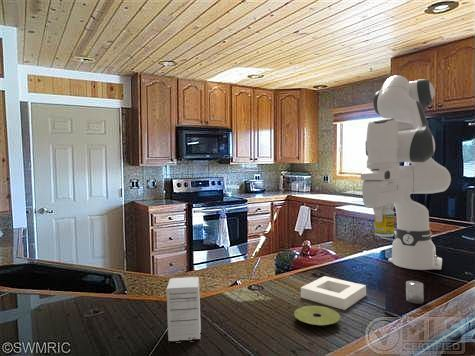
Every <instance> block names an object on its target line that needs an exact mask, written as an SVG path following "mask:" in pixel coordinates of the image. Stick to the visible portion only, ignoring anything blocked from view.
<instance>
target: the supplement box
mask: <svg viewBox="0 0 475 356" xmlns="http://www.w3.org/2000/svg"><path fill="white" fill-rule="evenodd" d="M200 296H201V295H200V278H199V277H198V276H192V277H191V276H189V277H187V276H186V277H177V278H176V277H172V278H171V277H170V278H169V280H168V283H167V287H166V310H167V311H166V313H167V315H166V316H167V336H168V337H167V338H168V341H179V340H192V339H200V340H201V334H200V333H201V331H202V328H201V327H202V325H201V303H200V302H201V298H200Z"/></svg>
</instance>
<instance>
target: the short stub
mask: <svg viewBox="0 0 475 356" xmlns="http://www.w3.org/2000/svg"><path fill="white" fill-rule="evenodd" d="M424 295H425V294H424V283H423V282H420V281H417V280H407V281H405V299H406V301H407V302H409V303H412V304H419V305H420V304H423V303H424V302H425V301H424Z"/></svg>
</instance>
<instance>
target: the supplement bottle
mask: <svg viewBox="0 0 475 356" xmlns="http://www.w3.org/2000/svg"><path fill="white" fill-rule="evenodd" d="M391 207H392V204H391V203H389V204H388V205H386V206H383V210H382V214H383V216H384V221H382V222H376V216H375V213H374V212H373V213H374V216H373V217H374V235H375V236H378V237H382V238H383V237H385V238H389V237H395V210H394V209H393V210H391Z"/></svg>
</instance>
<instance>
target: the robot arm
mask: <svg viewBox="0 0 475 356" xmlns="http://www.w3.org/2000/svg"><path fill="white" fill-rule="evenodd" d="M434 98H435V87H434V85H433V84H432V82H431V81H430V80H429V79H426V78H424V79H423V78H421V79H417V80H414V81H413V80H412V81H409V80H408V78H406V77H405V76H403V75H393V76H390V77H388V78H386V80H385V81H384V82H383V84H382V85H381V87H380V90H378V91H376V92H375V94H374V95H373V97H372V107H373V109H374V112H375V113H376V114H377V115H379V116H381V117H382V118H378V119H372V120H371V121H369V122H368V123H367V128H366V129H367V130H366V140H365V155H366V156H367V160H366V167H365V169H364V170H363V171H361V172H360V180H361V181H362V186H361V189H362V190H361V191H362V202H363V205H364V207H365V208H372V209H373V210H372V211H373V213H375V216H376V222H382V221H384V216H383V214H382V210H383V206H386V205H388V204H389V203H391V204H392V207H391V210H393V211H394V209H395V215H396V216H395V217H396V228H395V237H396V239H394V240H393V241H392V243H391V245H392V247H391V248H392V249H391V251H392V252H391V257H389V258H388V259H387V260H388V262H390V263H392V264H393V265H395V266H396V267H399V268H404V269H409V270H418V271H419V270H420V271H427V270H428V271H429V270H442V266H443V258H442V257H439V256H438V255H436V251H437V250H436V246H435V244H434V243H433V241H432V229H431V228H430V215H429V213H430V212H429V209H428V208H427V207H426V206H425V205H424V204H421V203H420V202H417V201H414V200H413V199H412V198H411V195H412V194H415V195H416V194H421V195H422V194H426V195H427V194H436V193H441V192H442V193H443V192H445V191H446V190H448V188H449V186H450V185H451V182H452V177H451V173H450V172H449V170H448V169H447V167H445V166H443V165H441V164H440V163H438V162H437V161H435V160H434V159H433V158H432V157H433V156H434V153H435V151H436V141H435V137H434V136H433V134H432V131H431V129H430V127H429V123H428V120H427V116H426V113H425V111H426V110H427V108H428V107H429V106H431V104H432V103H433V101H434ZM407 162H408V163H410V165H400V164H401V163H407Z"/></svg>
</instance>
